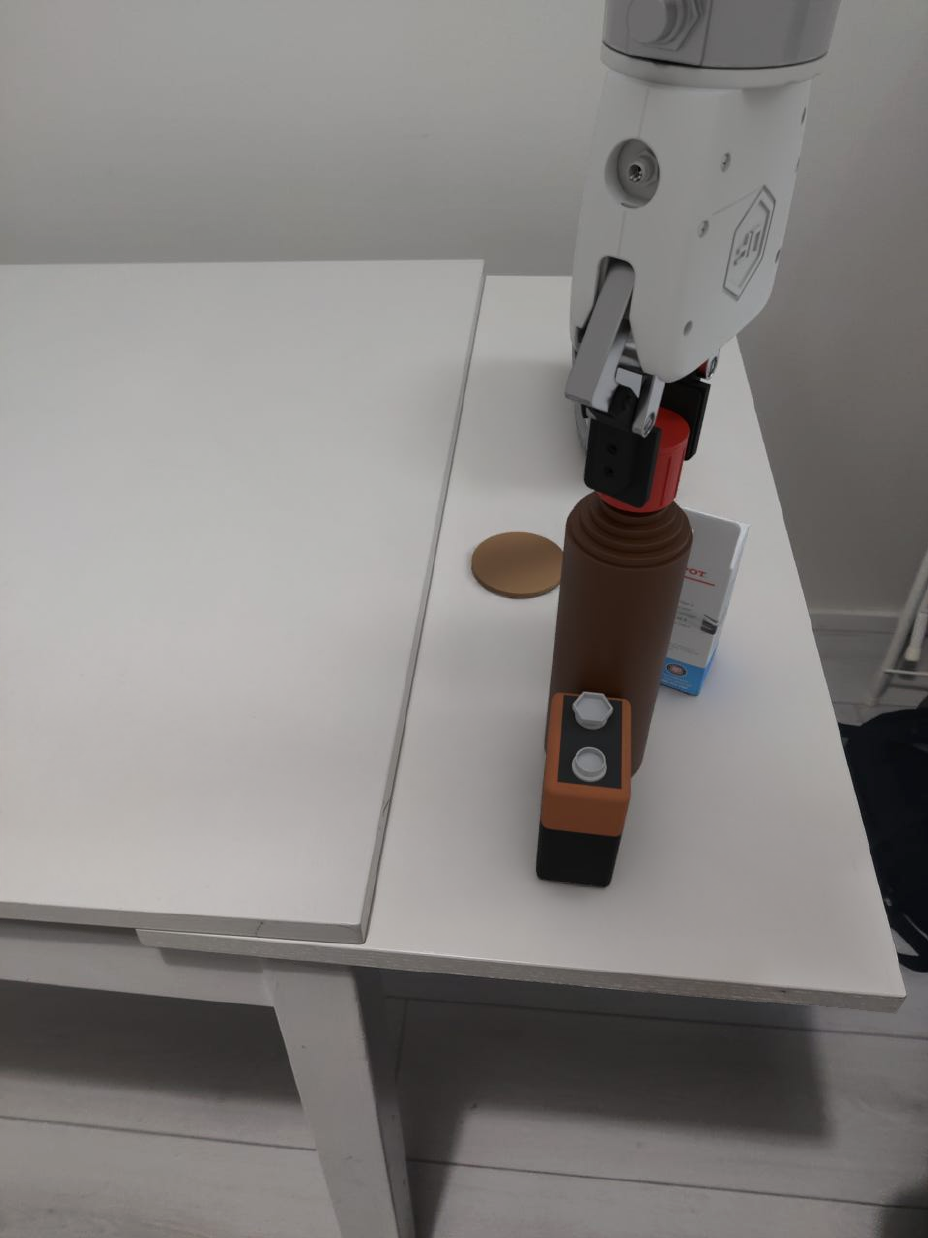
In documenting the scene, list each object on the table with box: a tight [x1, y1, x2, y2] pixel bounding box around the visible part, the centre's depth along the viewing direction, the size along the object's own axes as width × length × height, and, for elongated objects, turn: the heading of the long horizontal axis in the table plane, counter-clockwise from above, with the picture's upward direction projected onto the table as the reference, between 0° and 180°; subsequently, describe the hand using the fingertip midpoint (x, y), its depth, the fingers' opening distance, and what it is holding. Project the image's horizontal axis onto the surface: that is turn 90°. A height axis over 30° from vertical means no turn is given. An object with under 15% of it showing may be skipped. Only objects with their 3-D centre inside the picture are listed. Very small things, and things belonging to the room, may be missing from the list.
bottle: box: [543, 490, 693, 778], centre depth 49 cm, size 6×6×24 cm
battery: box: [535, 692, 632, 888], centre depth 49 cm, size 4×7×10 cm, turn 172°
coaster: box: [470, 531, 563, 599], centre depth 70 cm, size 8×8×1 cm
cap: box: [597, 407, 690, 513], centre depth 41 cm, size 4×4×4 cm
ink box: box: [660, 505, 750, 696], centre depth 58 cm, size 8×5×15 cm, turn 63°
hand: (640, 468), depth 42 cm, fingers closed on cap, 3 cm apart
